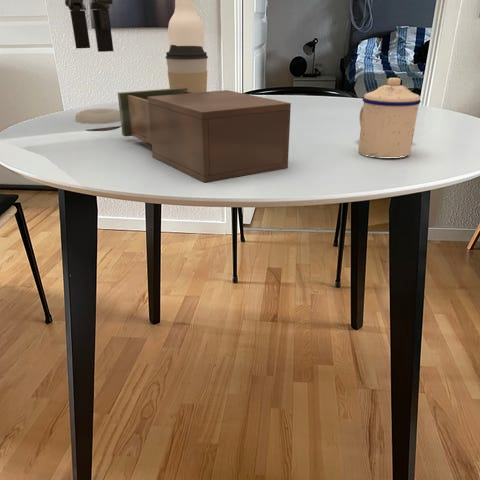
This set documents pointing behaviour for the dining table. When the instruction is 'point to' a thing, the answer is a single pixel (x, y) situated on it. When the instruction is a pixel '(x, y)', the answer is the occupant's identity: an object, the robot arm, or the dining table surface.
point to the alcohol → (185, 25)
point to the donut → (99, 118)
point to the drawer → (140, 111)
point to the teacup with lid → (388, 120)
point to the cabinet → (219, 133)
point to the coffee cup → (187, 68)
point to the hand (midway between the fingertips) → (94, 50)
